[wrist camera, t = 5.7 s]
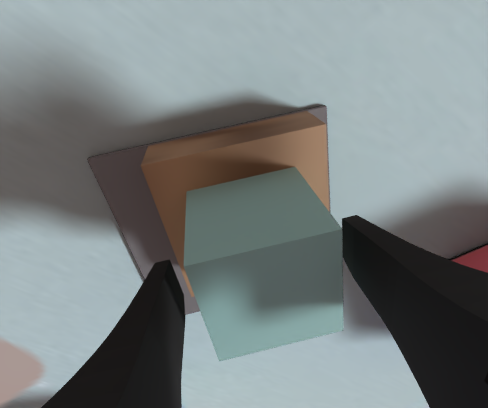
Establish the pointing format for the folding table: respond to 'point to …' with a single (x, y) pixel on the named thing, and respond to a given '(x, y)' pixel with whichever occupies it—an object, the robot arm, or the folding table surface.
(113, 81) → the folding table surface
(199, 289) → the teal cube
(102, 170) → the mat
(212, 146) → the walnut slab
